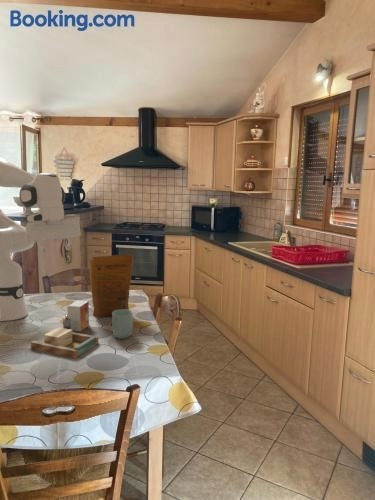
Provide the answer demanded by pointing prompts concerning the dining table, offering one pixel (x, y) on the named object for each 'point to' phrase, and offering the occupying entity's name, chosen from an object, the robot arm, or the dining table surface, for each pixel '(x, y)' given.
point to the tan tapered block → (59, 337)
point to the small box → (79, 315)
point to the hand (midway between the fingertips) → (55, 251)
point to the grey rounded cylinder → (67, 322)
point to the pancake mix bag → (110, 283)
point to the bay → (69, 352)
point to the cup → (122, 323)
